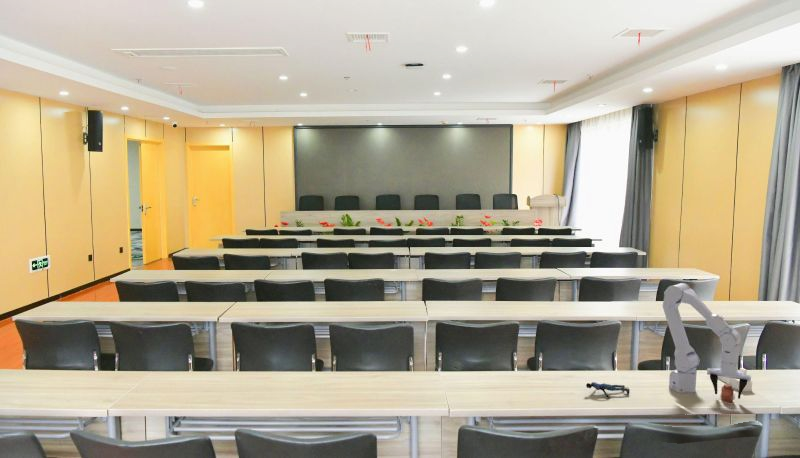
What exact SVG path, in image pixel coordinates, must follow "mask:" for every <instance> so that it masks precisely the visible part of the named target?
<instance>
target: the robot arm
mask: <svg viewBox="0 0 800 458" xmlns="http://www.w3.org/2000/svg"><path fill="white" fill-rule="evenodd" d="M663 294H664V295H663V301H662V309H663V313H664V314H665V319H666V321H667V325H668V328H669V332H670V334H671V338H672V340H673V344H674V347H675V350H674V353H673V355H674V366H675V367H676V369H674V370H672V371H671V372H670V373H669V382H668V388H669V389H671V390H673V391H674V392H677V393H679V394H682V393H683V394H684V393H695V392H696V386H697V367H698V366H699V364H700V357H699V356H698V354H697V353H696V351H695V348H693V347H692V346H691V345H690V341H689V339H688V336H687V333H686V329H685V327H684V324H683V321H682V318H681V315H680V311H679V306H680V305H681V303H683V304H687V305H690V306H691V307H692V308H693V309H695V310H696V312H698V313H699V314H700V315H701V316H702V317H703V318H704V319H705V324H706V326H707V327H709V328H710V329H711V331H712V332H714V333H715V335H716V336H717V337H719V338H718V339H719V343H720V344H721V350H720V351H721V355H720V368H709V367H707V370H706V375H709V379H710V381H711V383H712V385H713V389H714V395H718V381H719V380H718V376H722V377H728V378H734V379H740V381H739V390H738V394H737V399H741V396H742V393H743V392H744V391H743V389H744V387H745V386H746V384H747V381H748V382H751V381H752V380H751V379H752V375H750V374H747V373H746V374H742V373H738V372H739V371H738V370H739V369H738V368H739V358H740V357H739V354H740V351H739V350H740V343H741V342H742V340H743V339H742V337H743V336H742V334H741V333H740V331H739V330H737V329H735V328H734V327H733V326H730V325H729V324H728V323H727V322H726V321H725V320H724V319H725V317H723V316H722V315H720V314H717V313H713V312H712V311H711V309H709V307H708V306H707V305H706V304H705V303H704V302H703V301H702V299H700V297H699V296H698V295H697V293H696V292H695V290H694V289H692V288H691V287H690V286H689V285H688V283H684V282H680V283H677V284H674V285H669V286H668V287H667V288H666V289H665V291H664V292H663Z"/></svg>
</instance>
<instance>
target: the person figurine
mask: <svg viewBox="0 0 800 458" xmlns="http://www.w3.org/2000/svg"><path fill="white" fill-rule="evenodd" d="M585 386H586V388H587V389H591V388H594V389H596V390H597V391H599V390H601V391H602V392H603V393H604V394H605V396H606V398H607V399H610V396H609V394H607V391H610V392H613V391H615V392H617V391H622V392H626V396H629V395H630V392H631V391H630V388H629V386H625V385H623V384H622V385H621V384H609V383H605V382H604V383H597V382H591V383H589V382H587V383H586V385H585ZM606 390H607V391H606Z"/></svg>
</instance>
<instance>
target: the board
mask: <svg viewBox="0 0 800 458" xmlns="http://www.w3.org/2000/svg"><path fill="white" fill-rule="evenodd" d="M735 399H736V391H734V392H733V402H732V403H727V402H723V401H722V400H721V395H720V397H719V401H718V402H719V403H725V404H730V405H735Z"/></svg>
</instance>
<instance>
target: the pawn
mask: <svg viewBox="0 0 800 458" xmlns="http://www.w3.org/2000/svg"><path fill="white" fill-rule="evenodd" d="M734 389H735V388H733V387H732V385H729V384H727V383H726V384H725V383H724V384H723V385H722V386H721V393H720V396H721V400H722V401H723V402H722V403H724V402H727V403H726V404H729V403H732V402H733V392H735V391H734Z"/></svg>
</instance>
